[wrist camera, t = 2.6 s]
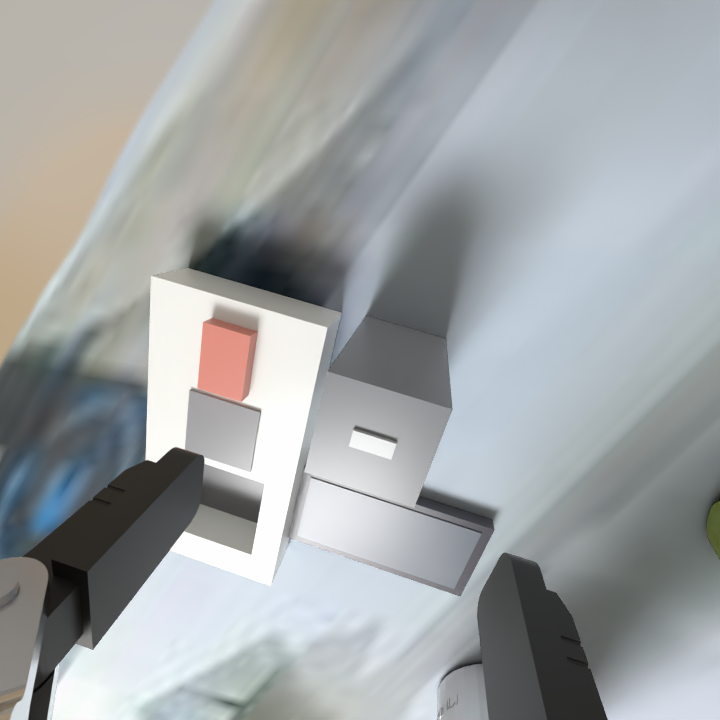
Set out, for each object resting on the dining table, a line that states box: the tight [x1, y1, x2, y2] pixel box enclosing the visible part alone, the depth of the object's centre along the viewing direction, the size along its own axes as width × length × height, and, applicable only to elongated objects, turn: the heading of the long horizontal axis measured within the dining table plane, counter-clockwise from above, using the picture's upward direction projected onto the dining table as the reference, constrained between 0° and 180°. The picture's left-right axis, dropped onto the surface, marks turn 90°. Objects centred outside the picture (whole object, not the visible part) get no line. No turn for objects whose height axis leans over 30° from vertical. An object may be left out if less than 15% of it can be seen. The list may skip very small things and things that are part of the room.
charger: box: [304, 316, 452, 508], centre depth 17 cm, size 4×4×8 cm
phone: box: [288, 464, 494, 596], centre depth 25 cm, size 12×6×1 cm, turn 76°
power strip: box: [146, 268, 342, 586], centre depth 23 cm, size 9×18×4 cm, turn 166°
